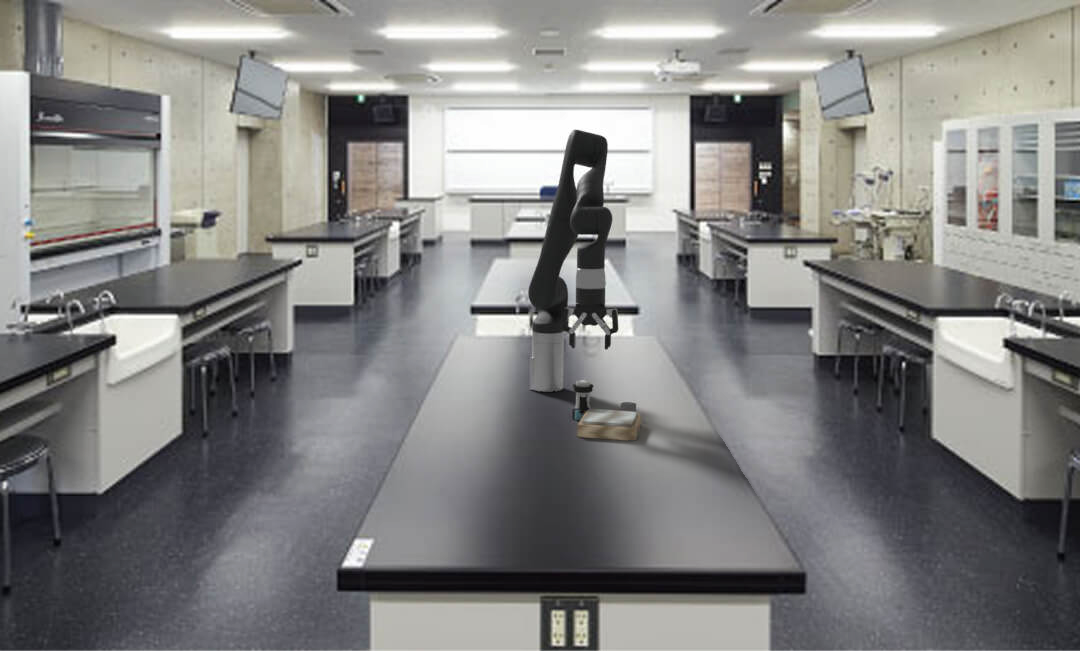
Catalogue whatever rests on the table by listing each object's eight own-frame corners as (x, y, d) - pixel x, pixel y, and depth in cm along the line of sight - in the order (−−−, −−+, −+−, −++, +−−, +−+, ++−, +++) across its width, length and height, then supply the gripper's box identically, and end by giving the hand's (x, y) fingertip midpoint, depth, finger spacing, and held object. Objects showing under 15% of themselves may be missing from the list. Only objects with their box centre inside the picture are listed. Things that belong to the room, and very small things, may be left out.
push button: (590, 414, 253) (591, 377, 252) (600, 419, 248) (601, 382, 247) (568, 417, 250) (569, 380, 249) (577, 422, 246) (578, 384, 244)
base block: (577, 436, 233) (577, 421, 232) (586, 421, 246) (586, 407, 246) (634, 440, 230) (635, 425, 229) (641, 425, 244) (641, 411, 243)
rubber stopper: (619, 420, 249) (619, 405, 248) (621, 416, 252) (621, 401, 252) (634, 421, 248) (635, 406, 247) (636, 417, 252) (637, 402, 251)
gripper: (560, 286, 242) (560, 350, 244) (616, 288, 239) (616, 352, 242) (565, 283, 249) (565, 345, 252) (620, 284, 246) (619, 346, 249)
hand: (590, 348), depth 247 cm, fingers open, 8 cm apart
